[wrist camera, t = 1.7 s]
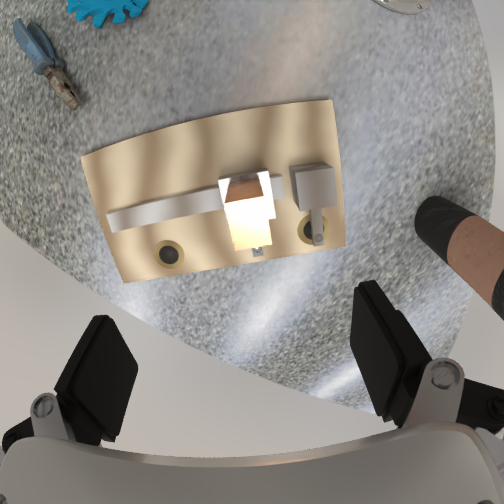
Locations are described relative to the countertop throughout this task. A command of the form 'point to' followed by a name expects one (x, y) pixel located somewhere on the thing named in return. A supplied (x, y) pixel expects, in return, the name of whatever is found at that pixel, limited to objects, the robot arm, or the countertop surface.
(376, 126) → the countertop surface
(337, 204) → the wooden slide jig
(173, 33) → the countertop surface
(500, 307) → the travel mug
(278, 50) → the countertop surface
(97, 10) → the gear
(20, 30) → the pliers
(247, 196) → the block
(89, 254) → the countertop surface
